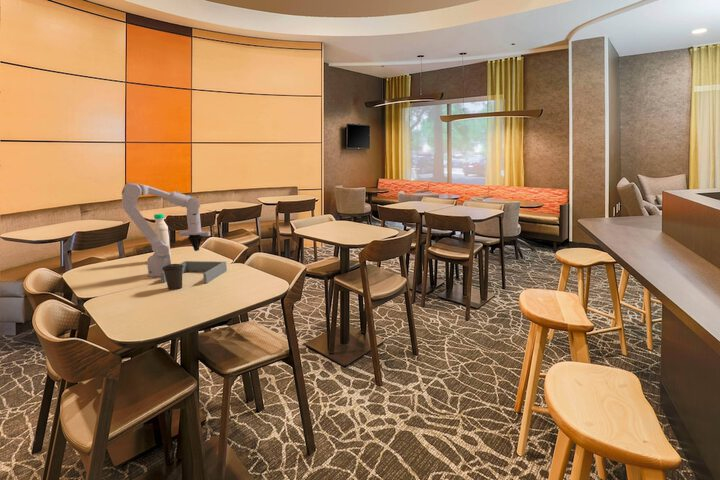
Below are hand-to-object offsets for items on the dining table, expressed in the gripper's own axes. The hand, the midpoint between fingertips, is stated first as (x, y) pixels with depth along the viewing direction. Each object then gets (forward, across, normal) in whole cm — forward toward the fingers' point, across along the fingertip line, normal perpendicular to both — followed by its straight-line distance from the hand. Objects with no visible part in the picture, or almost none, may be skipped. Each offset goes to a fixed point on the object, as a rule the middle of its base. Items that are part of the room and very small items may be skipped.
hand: (196, 250), depth 195 cm
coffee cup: (+10, -5, +29) cm, 31 cm away
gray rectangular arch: (+9, -5, +12) cm, 16 cm away
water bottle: (+10, +27, -15) cm, 32 cm away
